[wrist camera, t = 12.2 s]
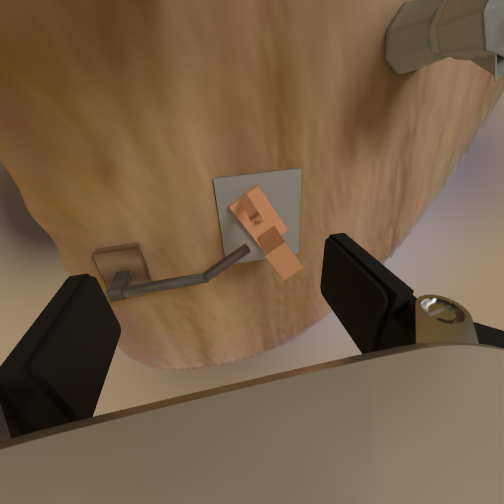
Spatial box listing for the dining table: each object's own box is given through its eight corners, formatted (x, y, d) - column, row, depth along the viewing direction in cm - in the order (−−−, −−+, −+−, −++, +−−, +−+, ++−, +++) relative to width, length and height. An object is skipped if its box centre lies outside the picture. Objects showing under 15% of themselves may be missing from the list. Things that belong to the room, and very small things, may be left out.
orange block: (228, 205, 42) (242, 248, 29) (256, 184, 41) (284, 218, 28) (260, 245, 47) (284, 297, 34) (286, 227, 46) (321, 273, 33)
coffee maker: (431, 83, 39) (583, 65, 23) (380, 97, 38) (501, 88, 23) (451, -57, 31) (703, -221, 15) (387, -42, 30) (581, -194, 15)
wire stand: (96, 249, 41) (78, 274, 35) (242, 227, 45) (250, 246, 38) (117, 293, 47) (104, 322, 40) (247, 271, 50) (254, 294, 44)
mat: (213, 178, 39) (213, 178, 39) (300, 168, 41) (301, 168, 41) (226, 264, 48) (226, 265, 48) (297, 252, 50) (298, 253, 50)
